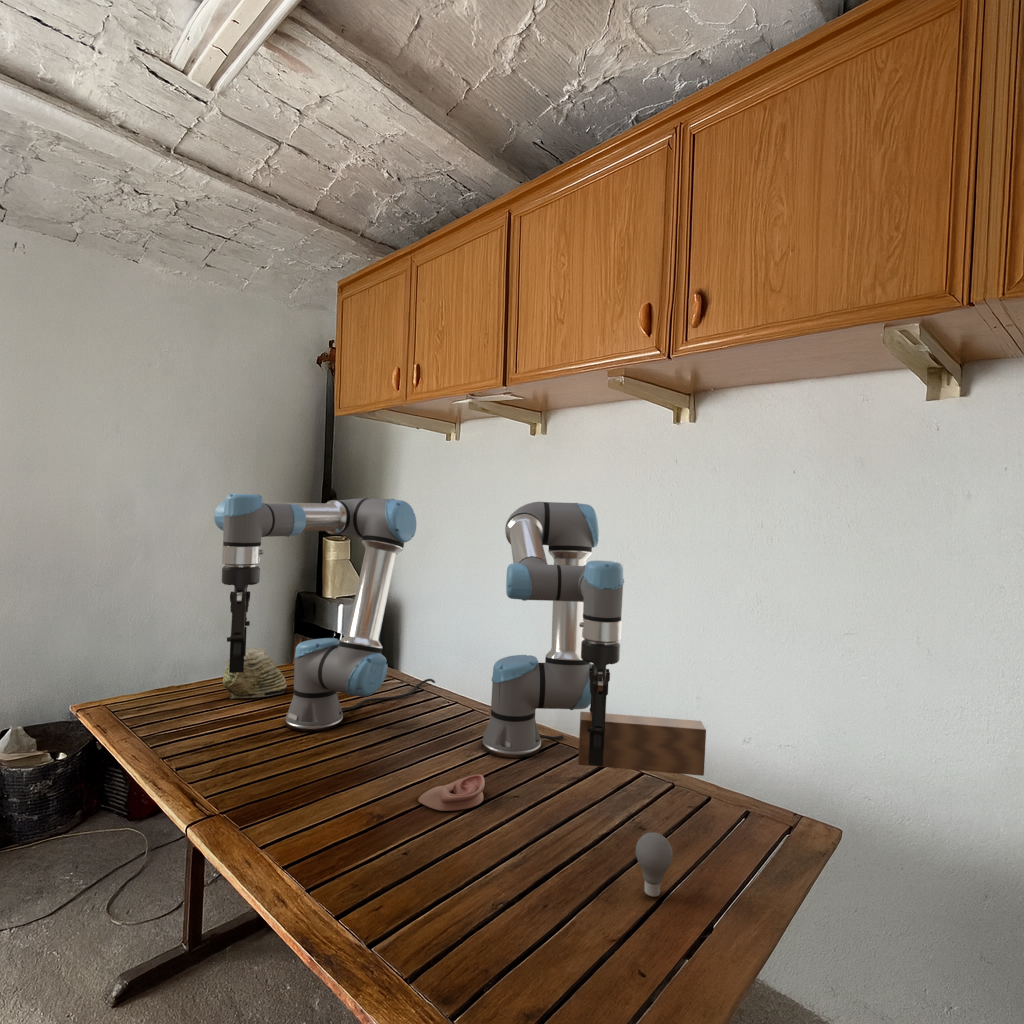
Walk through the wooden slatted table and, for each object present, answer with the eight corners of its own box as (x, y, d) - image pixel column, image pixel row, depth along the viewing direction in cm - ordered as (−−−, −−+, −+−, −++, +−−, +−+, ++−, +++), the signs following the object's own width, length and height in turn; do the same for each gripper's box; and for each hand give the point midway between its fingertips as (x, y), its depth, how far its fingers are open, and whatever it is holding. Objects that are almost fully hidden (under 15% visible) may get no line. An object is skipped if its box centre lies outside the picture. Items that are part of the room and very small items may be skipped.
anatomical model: (413, 788, 131) (431, 765, 142) (412, 807, 131) (431, 783, 142) (475, 796, 128) (489, 773, 139) (474, 816, 128) (488, 791, 139)
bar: (698, 765, 124) (701, 720, 124) (703, 775, 120) (706, 729, 119) (578, 754, 127) (580, 711, 127) (578, 765, 122) (580, 719, 122)
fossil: (218, 695, 195) (220, 647, 195) (278, 685, 208) (279, 640, 207) (228, 703, 189) (230, 653, 188) (289, 692, 201) (290, 645, 201)
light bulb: (629, 883, 108) (632, 825, 107) (663, 883, 108) (666, 825, 108) (639, 906, 102) (642, 844, 101) (675, 905, 102) (678, 844, 102)
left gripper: (259, 572, 126) (255, 678, 126) (260, 559, 149) (257, 649, 149) (218, 572, 123) (214, 681, 123) (225, 559, 146) (222, 650, 147)
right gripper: (581, 630, 133) (576, 740, 133) (581, 649, 115) (575, 776, 115) (617, 632, 132) (612, 743, 133) (623, 652, 114) (617, 780, 115)
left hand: (237, 663), depth 136 cm, fingers open, 13 cm apart
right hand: (595, 758), depth 124 cm, fingers closed on bar, 5 cm apart
